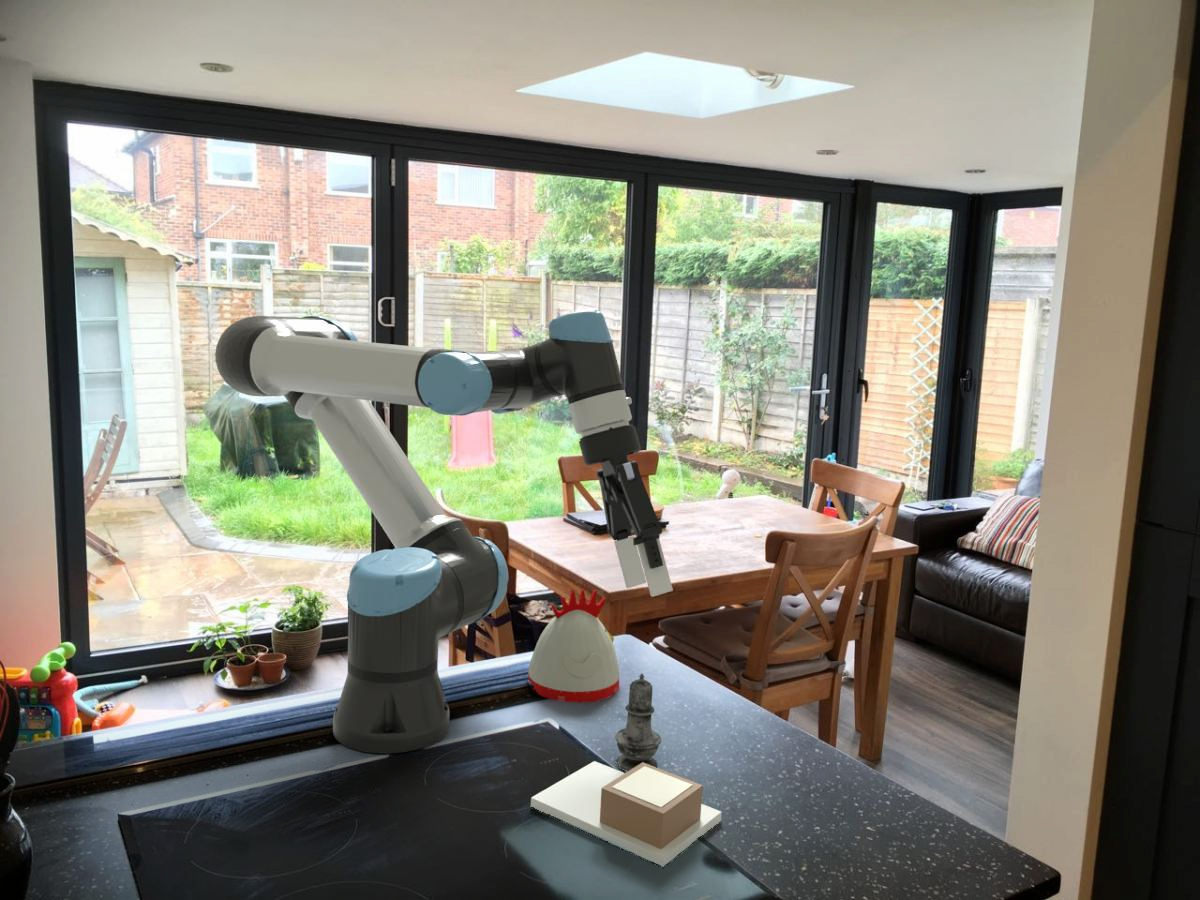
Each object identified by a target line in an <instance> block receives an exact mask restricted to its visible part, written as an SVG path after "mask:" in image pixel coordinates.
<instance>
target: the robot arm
mask: <svg viewBox="0 0 1200 900" xmlns="http://www.w3.org/2000/svg"><path fill="white" fill-rule="evenodd" d="M547 327H548V336H549V338H547V339H545V340H543V341H541V342H538V343H535V344H533V345H528V346H527V347H523V348H519V349H515V350H512V349H511V350H486V351H481V350H480V351H477V350H476V351H471V350H457V349H447V348H446V349H445V348H434V347H433V348H432V347H425V346H424V347H423V346H413V345H412V346H410V345H401V344H390V343H380V342H369V341H368V342H367V341H359V340H358V338H357V337H356V335H355V334H354V332H353V331H352V330H351V329H350V328H349V327H348V326H347V325H346V324H345V323H344V324H343V323H342V322H340V321H338V320H336V319H332V318H326V317H322V316H317V315H309V316H307V315H306V316H302V317H295V316H293V317H292V316H275V315H274V316H272V315H270V316H268V315H255V316H248V317H244V318H241V319H239V320H236V321H235V322H233V323H231V324H230V325H229V326H228V327H227V328H225V329H224V331H223V333H221V335H220V337H219V339H218V342H217V344H216V348H215V355H214V356H215V357H214V358H215V365H216V368H217V370H218V372H219V374H220V377H221V378H222V380H223V381H224V382H225V383H226V384H227V385H228V386H230V388H232V389H233V390H235V391H236V392H239V393H241V394H242V395H246V396H250V397H251V396H252V397H282V396H283V397H284V398H285V399H286V400H287V402H288V403H289V405H290V407H291V408H292V410H293V411H294V413H295V414H296V416H297V417H299V418H301V419H305V420H311V421H313V424H314V425H315V426H316V428H317V429H318V430H319V433H320V434H321V435H322V437H323V438H324V441H326V443H327V445H328V446H329V448H330V449H331V451H332V453H333V454H334V456H335V457H336V459H337V460H338V461H339V464H340V465H341V466H342V468H343V470H344V471H345V472H346V474H347V476H348V477H349V479H350V480H351V481H352V483H353V485H354V486H355V488H356V489H357V491H358V492H359V495H361V497H362V499H363V500H364V501H365V503H366V505H367V507H369V510H370V511H371V513H372V514H373V516H374V517H375V518H376V520H377V522H378V523H379V524H380V527H382V530H383V531H384V532H385V534H386V536H387V538H388V539H389V540H390V542H391V543H392V544H393V546H394V548H393V549H381V550H377V551H373V552H371V553H369V554H367V555H365V556H363V557H362V558H360V559H359V560H358V561H356V563H355V564H354V565H353V567H352V568H351V570H350V573H349V583H348V589H347V594H346V601H347V674H346V679H345V681H344V684H343V688H342V692H341V694H340V699H339V703H338V704H337V706H336V707H335V710H334V712H333V718H332V733H333V737H334V739H336V740H337V741H338V742H339V743H340V744H342V745H343V746H345V747H347V748H350V749H353V750H356V751H360V752H364V753H371V754H373V753H374V754H398V753H407V752H411V751H412V752H413V751H416V750H417V751H418V750H420V749H423V748H426V747H427V748H428V747H429V746H431V745H434V744H436V743H437V742H439V741H440V740H442V739H443V738H444V737H445V736H446V735H447V734H448V731H449V729H450V708H449V705H448V702H447V701H446V697H445V692H444V688H443V685H442V682H441V679H440V675H439V671H438V665H439V660H438V659H439V657H438V656H439V639H441V638H442V637H445V636H447V635H449V634H451V633H453V632H456V631H457V630H460V629H462V628H464V627H466V626H468V625H471V624H475V623H478V622H480V621H482V620H483V619H484V618H485V617H486V616H489V614H492V613H494V611H496V610H497V609H498V608H499V607H500V605H501V604H502V603H503V600H504V599H505V597H506V595H507V590H508V582H509V571H508V565H507V561H506V559H505V556H504V554H503V553H502V551H501V550H500V549H499V547H498V546H497V545H496V544H495V543H493V542H492V541H491V540H489V539H486V538H482V537H479V536H473V535H472V533H471V532H470V531H469V529H468V528H467V526H466V524H465V523H464V522H463V520H462V519H461V518H458V517H453V516H448V515H446V513H445V512H444V510H443V509H442V508H441V506H440V505H439V503H438V502H437V500H436V499H435V497H434V496H433V494H432V493H431V491H430V489H429V488H428V487H427V485H426V484H425V482H424V480H423V479H422V478H421V476H420V474H419V473H418V472H417V470H416V469H415V467H414V466H413V464H412V463H411V461H410V460H409V458H408V456H407V454H405V452H404V450H402V448H401V446H400V445H399V443H398V441H397V440H396V438H395V437H394V436H393V434H392V433H391V431H390V430H389V428H388V426H387V425H386V424H385V422H384V421H383V419H382V417H381V416H380V414H379V413H378V411H377V409H375V407H374V406H373V404H372V402H379V403H387V404H388V403H389V404H395V405H405V406H412V407H421V408H428V409H430V410H432V411H433V412H435V413H436V414H438V415H445V416H468V415H470V414H474V413H475V414H476V413H481V412H488V411H491V412H492V413H493V414H499V415H502V414H505V413H511V412H515V411H516V412H518V411H521V410H523V409H525V408H527V407H529V406H532V405H536V404H538V403H542V402H544V401H547V400H550V399H553V398H556V397H561V396H563V395H565V396H566V398H567V402H568V403H567V404H568V409H569V412H570V415H571V418H572V423H573V426H574V430H575V433H576V434H577V435H580V436H581V438H579V441H578V443H579V448H580V451H581V455H582V459H583V462H584V464H585V465H586V466H593V465H596V464H601V469H597V471H596V476H597V478H598V482H599V486H600V490H601V496H602V503H603V504H602V505H603V510H604V514H605V520H606V527H607V529H606V530H607V534H608V535H609V536H611V539H613V541H614V546H615V551H616V553H617V558H618V560H619V561H618V562H619V564H620V568H621V572H622V576H623V579H624V583H625V587H626V589H630V588H633V587H637V586H640V585H643V584H646V583H647V587H648V590H649V594H650V597H656V596H660V595H663V594H666V593H669V592H673V591H674V589H673V586H672V582H671V578H670V574H669V571H668V567H667V563H666V560H665V556H664V552H663V548H662V544H661V541H660V535H662V534H663V528H662V526H661V524H660V521H659V519H658V516H657V513H656V511H655V509H654V506H653V504H652V501H651V498H650V496H649V494H648V491H647V489H646V486H645V484H644V481H643V479H642V475H641V473H640V468H639V464H638V462H637V460H633V461H629V459H628V456H631V455H634V454H637V453H639V452H640V451H641V444H640V441H639V436H638V433H637V429H636V426H634V425H633V424H630V421H632V418H633V416H632V413H631V409H630V406H629V405H632V402H633V401H632V398H631V396H627V393H626V390H625V386H624V383H623V379H622V375H621V371H620V368H619V363H618V360H617V354H616V352H615V348H614V344H613V343H614V340H613V338H612V336H611V334H610V331H609V327H608V324H607V321H606V318H605V316H604V314H603V313H602V312H601V311H599V310H598V309H593V308H591V309H588V308H587V309H581V310H577V311H576V310H575V311H572V312H569V313H568V312H567V313H565V314H562V315H560V316H557V318H553V319H552V320H550V321H549V322H548V326H547ZM371 401H372V402H371ZM635 536H636V537H635Z"/></svg>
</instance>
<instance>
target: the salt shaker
mask: <svg viewBox="0 0 1200 900" xmlns="http://www.w3.org/2000/svg"><path fill="white" fill-rule="evenodd" d="M628 695H629V696H628V704H627V705H626V706H625V707H624V708H625V711H626V712H627V717H626V718H627V720H626V725H625V727H624V728H621V729H619V730H618V731H616V733H615V735H614V739H615V741H616V746H617V748H618V751H619V753H621V755H619V756H618V757H617V758H618V759H617V758H616V760H615V763H616V762H617V765H618V767H620V768H621V769H624V770H627V771H629V770H631V769H633V768H634V767H636V766H638V765H639V764H641V763H642V762H643V763H646V764H649V765H651V766H654V767H657V768H658V762H657V760H656V759H655V758H653V757H654V756H655V755H656V753H657V751H658V749H659V746H660V744H661V743H662V737H661V735H660V734H659V733H658V732H656V731H655V730H653V728H652V714H653V713H654V712H655V708H654V707H653V705H652V701H653V685H652V683H651V682H649V681H648V680H646V679H645V676H644V674H643V673H641V674H640V675H639V676H638V679H636V680H633V681H632V682H631V683H630V684H629V694H628ZM618 762H619V763H618ZM617 765H616V766H617ZM619 765H620V766H619ZM618 767H617V768H618ZM621 769H620V770H621Z"/></svg>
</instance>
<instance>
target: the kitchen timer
mask: <svg viewBox="0 0 1200 900" xmlns="http://www.w3.org/2000/svg"><path fill="white" fill-rule="evenodd" d="M560 601H561V605H562V609H561V610H558V609H557V608H556V607H555V605H554V603H552V602H551V604H550V605H551V608H552V611H553V613H554V618H553V619H551V620H550V622H549V623H548V624H547V625H546V626H545V628H544V629H543V630H542V633H540V636H539V638H538V640H537V642H536V645H535V648H534V650H533V653H532V656H531V659H530V662H529V667H528V673H527V679H528V678H529V681H530V682H531V683H532V685H533V686H534V689H535V690H536V692H537V693H538V694H537V693H536V694H537V695H538V696H541V697H543V698H546V699H549V700H553V701H560V702H566V703H591V702H596V701H601V700H604V699H608V698H609V697H612V696H613V695H615V694H616V693H617V692H618V691H619V686H620V667H619V665H620V664H619V661H618V658H617V653H616V650H615V649H616V648H615V646H614V640H615V638H614V637H613V636H612V634H611V633H610V632H609V631H608V630H607V629H606V627H605V625H604V624H603V623H602V622H601V621H600V620H599V618H598V616H599V614H600V612H601V610H602V609H603V606H604V605H605V602H606V598H605V596H603V597H602V598H601V600H599V602H598V603H597V591H596V589H593V591H592V593H591V595H590V598H589V600H588V601H586V595H585V590H584V589H583V588H581V589H580V594H579V599H578V602H577V599H576V593H575V590H574V588H571V590H570V596H569V599H568V602H567V601H566V600H565V598H564V596H563V595H560Z"/></svg>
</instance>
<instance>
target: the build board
mask: <svg viewBox="0 0 1200 900" xmlns="http://www.w3.org/2000/svg"><path fill="white" fill-rule="evenodd" d="M703 787H704V785H703V784H701V783H699V782H698V783H697V782H695V781H693V780H690V779H688V778H684V777H682V776H679V775H677V774H674V773H671V772H669V771H666V770H664V769H661V768H659V767H657V768H656V767H654V766H651V765H649V764H646V763H643V762H642V763H641V764H639V765H638V766H636V767H634V768H633V769H631V770H630V771H628V772H624V771H622V770H618V769H616V768H613V767H610V766H608V765H605V764H604V763H600V762H597V761H596V760H593V761H592V762H591V763H588V764H587V765H585V766H583V767H581V768H580V769H578V770H576V771H574V772H573V773H571V774H569V775H568V776H566V777H564V778H563V779H561V780H559V781H557V782H555V783H554V784H552V785H551V786H549V787H547V788H546V789H545V788H544V790H542V791H539V792H538V793H537V794H535V795H533V796H531V798H530V808H531V807H534V808H535V809H537V810H539V811H538V812H540V811H541V812H540V813H542V812H544V813H546V814H550V815H551V816H554V817H556V818H559V819H561V820H563V821H565V822H568V823H570V824H572V825H574V826H577V827H580V828H582V829H584V830H587V831H589V832H590V833H593V834H595V835H598V836H600V837H603V838H605V839H606V840H609V841H612V842H613V843H616V844H618V845H620V846H622V847H625V849H628V850H630V851H632V852H634V853H636V854H638V855H640V856H642V857H644V858H647V859H649V860H651V861H653V862H655V863H657V864H660V865H662V866H664V865H665V864H666V863H667V862H669V861H670V860H672V858H674V857H675V856H676V855H677V854H679V852H681V851H683V850H684V849H685V848H686V847H687V846H689V845H690V844H691V843H692V842H693V841H694V840H695V839H696V838H698V837H700V836H702V835H704V834H705V833H706V832H707V831H708V830H710V829H711V828H712V829H714V828H715V827H716V826H717V825H718V824H720V823H721V822H720V821H722V811H721V810H718V809H716V808H713V807H710V806H709V805H706V804H703V803H702V799H703ZM535 809H534V810H535ZM537 810H536V811H537ZM544 813H543V814H544ZM546 814H545V815H546ZM551 816H550V817H551ZM719 822H720V823H719ZM716 824H717V825H716ZM715 825H716V826H715ZM714 826H715V827H714ZM713 827H714V828H713ZM712 829H711V830H712ZM711 830H710V831H711ZM707 833H708V832H707ZM707 833H706V834H707ZM706 834H705V835H706ZM705 835H704V836H705ZM702 837H703V836H702ZM672 861H673V860H672Z"/></svg>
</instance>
